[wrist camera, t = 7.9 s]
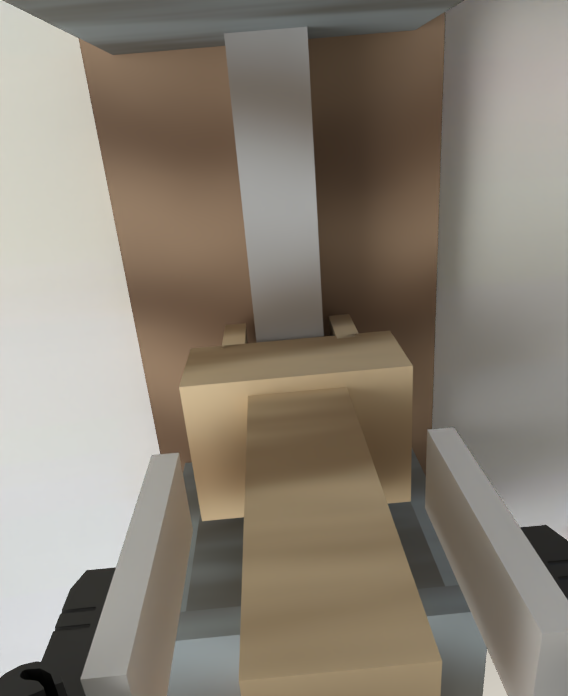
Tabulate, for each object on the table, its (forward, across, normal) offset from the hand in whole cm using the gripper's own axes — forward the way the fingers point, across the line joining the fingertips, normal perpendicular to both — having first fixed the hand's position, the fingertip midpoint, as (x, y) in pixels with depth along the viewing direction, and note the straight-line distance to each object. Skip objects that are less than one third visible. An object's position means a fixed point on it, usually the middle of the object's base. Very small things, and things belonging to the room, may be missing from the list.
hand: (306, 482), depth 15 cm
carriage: (+7, 0, 0) cm, 7 cm away
